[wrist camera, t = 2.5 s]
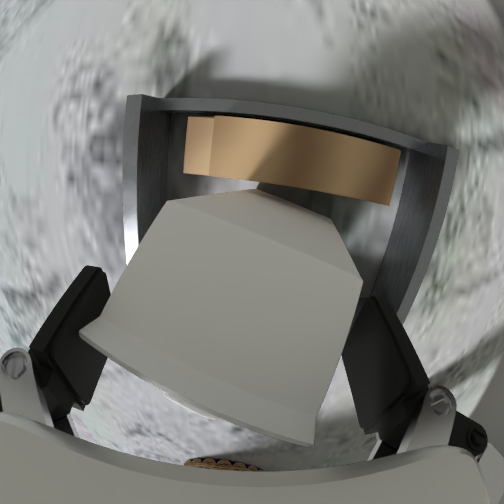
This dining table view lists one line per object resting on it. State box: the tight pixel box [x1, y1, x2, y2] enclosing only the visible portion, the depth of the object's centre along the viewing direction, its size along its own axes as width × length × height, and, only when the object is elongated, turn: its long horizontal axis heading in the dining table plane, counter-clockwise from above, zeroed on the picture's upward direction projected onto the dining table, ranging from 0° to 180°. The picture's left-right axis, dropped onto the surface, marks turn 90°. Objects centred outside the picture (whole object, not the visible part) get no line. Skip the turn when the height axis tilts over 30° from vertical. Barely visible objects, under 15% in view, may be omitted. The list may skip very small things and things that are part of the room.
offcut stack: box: [183, 116, 401, 206], centre depth 19 cm, size 16×5×5 cm, turn 83°
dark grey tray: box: [123, 94, 459, 337], centre depth 21 cm, size 24×18×7 cm
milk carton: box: [79, 189, 363, 447], centre depth 15 cm, size 7×7×19 cm
